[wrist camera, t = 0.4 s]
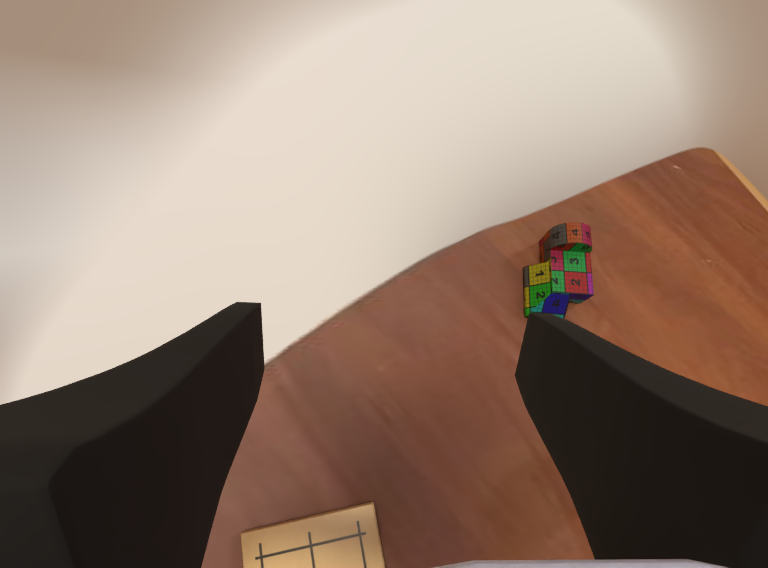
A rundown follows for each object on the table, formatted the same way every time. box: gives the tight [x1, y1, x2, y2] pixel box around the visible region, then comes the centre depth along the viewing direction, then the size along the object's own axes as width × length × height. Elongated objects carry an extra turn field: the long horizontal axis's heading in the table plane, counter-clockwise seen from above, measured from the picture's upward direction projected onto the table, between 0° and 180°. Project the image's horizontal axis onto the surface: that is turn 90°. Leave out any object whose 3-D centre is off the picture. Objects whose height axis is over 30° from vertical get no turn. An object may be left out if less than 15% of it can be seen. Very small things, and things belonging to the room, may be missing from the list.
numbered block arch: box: [523, 223, 594, 319], centre depth 40 cm, size 8×5×4 cm
